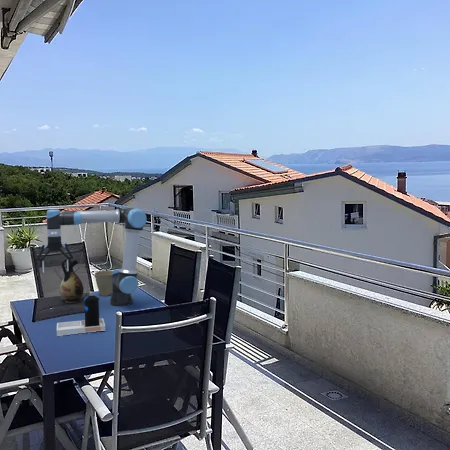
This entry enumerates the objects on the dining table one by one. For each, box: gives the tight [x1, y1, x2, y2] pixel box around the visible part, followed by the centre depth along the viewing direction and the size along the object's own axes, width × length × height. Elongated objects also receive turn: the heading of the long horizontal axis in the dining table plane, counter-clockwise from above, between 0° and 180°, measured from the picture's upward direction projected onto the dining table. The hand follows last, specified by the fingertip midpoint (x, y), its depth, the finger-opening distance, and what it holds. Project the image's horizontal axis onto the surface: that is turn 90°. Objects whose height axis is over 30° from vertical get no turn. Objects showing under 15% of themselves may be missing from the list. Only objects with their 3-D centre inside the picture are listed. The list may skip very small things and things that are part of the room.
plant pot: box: [94, 270, 113, 297], centre depth 325 cm, size 15×15×16 cm
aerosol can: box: [83, 291, 100, 327], centre depth 252 cm, size 8×8×20 cm
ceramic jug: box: [59, 257, 85, 304], centre depth 306 cm, size 17×15×30 cm
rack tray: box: [56, 318, 106, 337], centre depth 251 cm, size 25×13×4 cm, turn 109°
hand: (55, 271), depth 270 cm, fingers open, 13 cm apart
